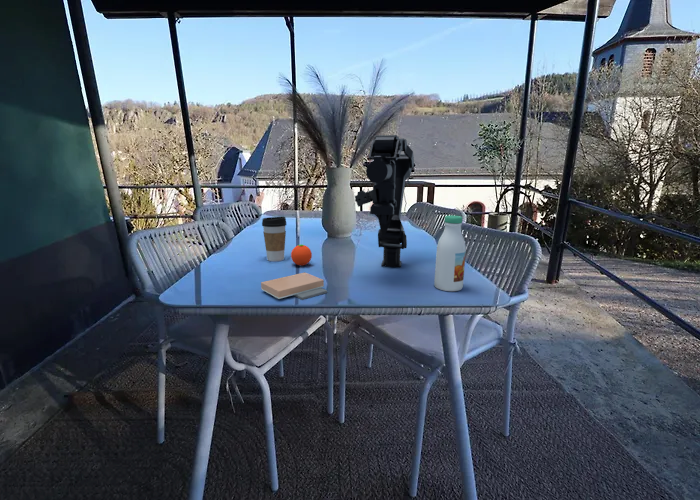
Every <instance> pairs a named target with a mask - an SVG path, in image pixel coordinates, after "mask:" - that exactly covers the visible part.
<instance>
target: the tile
mask: <svg viewBox="0 0 700 500" xmlns="http://www.w3.org/2000/svg"><path fill="white" fill-rule="evenodd" d="M324 284H325V283H324V279H322V278H321V277H317V276H315V275H312V274H310V273H307V272H306V271H305V272H301V273H296V274H293V275H288V276H283V277H278V278H275V279H274V278H273V279H270V280H266V281H261V282H260V287H261V290H262V291H263V292H266V293H267V294H269V295H271V296H273V297H274V298H275V299H278V300H280V299H283V298H288V297H291V296H293V295H295V294H299V293H303V292H306V291H310V290H314V289H318V288H324V286H325V285H324Z"/></svg>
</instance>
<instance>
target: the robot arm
mask: <svg viewBox="0 0 700 500" xmlns="http://www.w3.org/2000/svg"><path fill="white" fill-rule="evenodd" d="M402 152H403V154H401V153H402ZM414 158H415V157H414V150H413V149H412V148H411V147H410V146H409V145H408V141H407V138H400V137H399V136H398V135H396V134H392V135H391V134H388V135H387V134H386V135H385V134H384V135H379V134H377V135H375V136H374V137H373V139H372V140H371V145H370V149H369V154H368V161H371V162H370V163H368V165H367V167H366V171H365V173H366V177H367V178H368V180H369V181H370V182H372V183H374V185H372V189H371V190H367V191H365V190H360V191H357V195H355V196H354V199H355V202H356V206H357V207H358V208H359V207H361V206H363V205H366V204H368V203H371V202H372V205H371V206H370V207H369V210H370V211H369V213H370V215H374V216H375V217H376V218H377V219H378V224H379V228H380V229H378V231H377V244H378V248H383V255H382V256H383V258H382V262H381V265H380V266H381V267H391V268H401V267H402V260H401V253H402V252H401V250H404V249H407V246H408V245H407V244H408V240H407V235H406V231H405V229H404V226H403V223H402V221H401V215H402V208H403V202H404V201H403V200H404V194H405V193H404V192H405V184H406V181H407V179H408V178H409V177H410V176H411V174H412V169H414V165H415V159H414Z"/></svg>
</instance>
